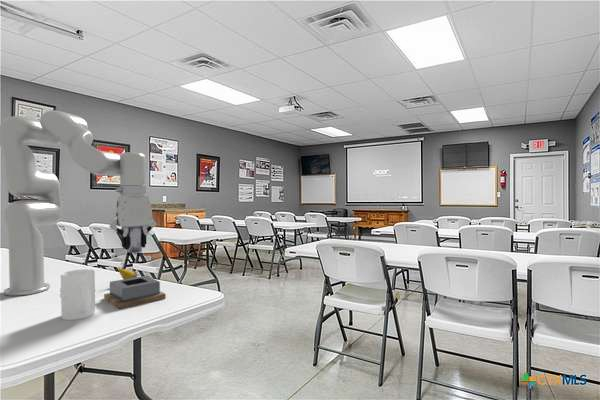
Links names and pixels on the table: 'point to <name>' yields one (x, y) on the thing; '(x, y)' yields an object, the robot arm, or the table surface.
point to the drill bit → (127, 273)
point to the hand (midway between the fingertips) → (134, 247)
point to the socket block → (134, 288)
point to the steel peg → (135, 239)
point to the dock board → (134, 302)
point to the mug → (77, 294)
